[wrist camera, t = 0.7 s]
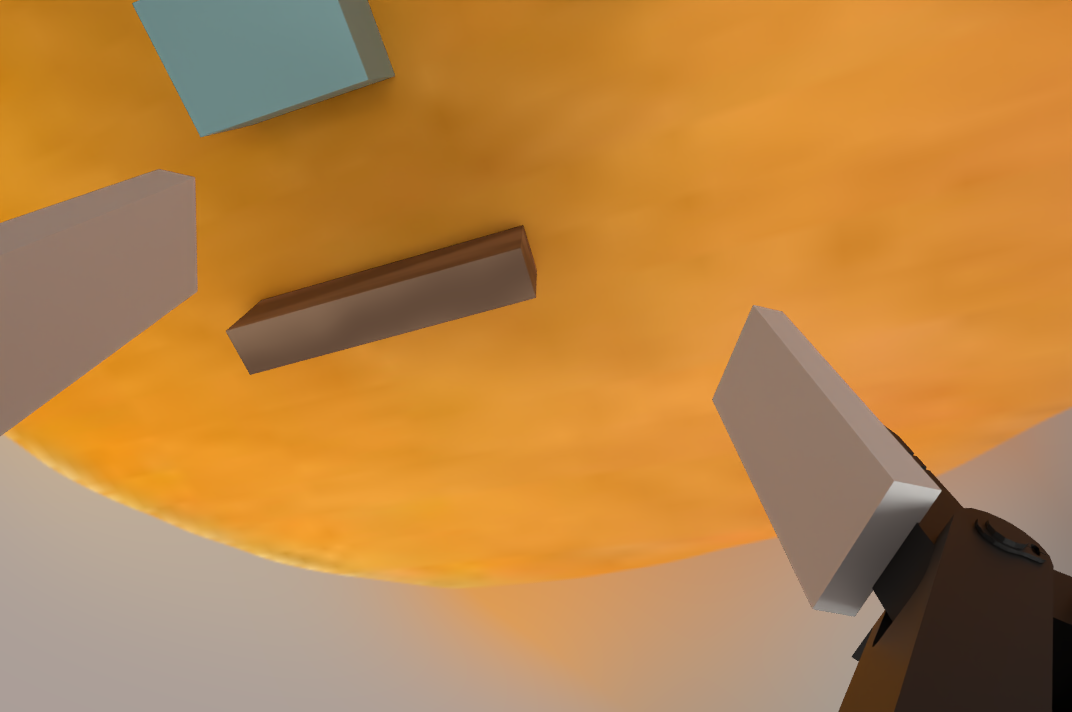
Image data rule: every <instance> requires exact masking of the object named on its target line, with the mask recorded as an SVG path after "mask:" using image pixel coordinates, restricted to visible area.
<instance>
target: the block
mask: <svg viewBox="0 0 1072 712" xmlns="http://www.w3.org/2000/svg"><path fill="white" fill-rule="evenodd" d="M132 4H133V6H134V8H135V10H136V12H137V14H138V16H139V18H140V20H141V22H142V24H143V26H144V28H145V30H146V32H147V33H148V35H149V37H150V39H151V41H152V43H153V45H154V47H155V49H156V51H157V53H158V55H159V57H160V59H161V61H162V63H163V65H164V67H165V69H166V70H167V72H168V74H169V76H170V78H171V80H172V82H173V84H174V86H175V88H176V90H177V92H178V94H179V96H180V98H181V100H182V102H183V104H184V106H185V108H186V109H187V111H188V113H189V115H190V117H191V119H192V121H193V123H194V125H195V127H196V129H197V131H198V133H199V135H200V137H204V136H208V135H212V134H216V133H221V132H225V131H229V130H233V129H237V128H242V127H246V126H250V125H253V124H256V123H259V122H262V121H265V120H268V119H271V118H274V117H277V116H280V115H283V114H286V113H289V112H291V111H294V110H297V109H300V108H303V107H306V106H309V105H312V104H315V103H318V102H321V101H324V100H327V99H329V98H332V97H335V96H338V95H341V94H344V93H347V92H350V91H353V90H356V89H359V88H362V87H365V86H367V85H370V84H373V83H376V82H379V81H382V80H385V79H388V78H391V77H394V76H395V74H394V71H393V69H392V66H391V63H390V60H389V58H388V55H387V52H386V49H385V47H384V44H383V41H382V38H381V36H380V33H379V30H378V28H377V25H376V22H375V19H374V17H373V14H372V11H371V8H370V6H369V3H368V0H139V1H136V2H134V3H132Z"/></svg>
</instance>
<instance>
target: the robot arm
mask: <svg viewBox="0 0 1072 712" xmlns="http://www.w3.org/2000/svg"><path fill="white" fill-rule="evenodd" d="M196 292H197V244H196V198H195V177H192V176H187V175H183V174H179V173H174V172H170V171H165V170H161V169H158V170H155V171H152V172H149V173H146V174H143V175H140V176H137V177H134V178H131V179H128V180H125V181H123V182H120V183H117V184H114V185H111V186H108V187H105V188H102V189H99V190H96V191H93V192H90V193H87V194H84V195H81V196H78V197H76V198H73V199H70V200H67V201H64V202H61V203H58V204H55V205H52V206H49V207H46V208H43V209H40V210H37V211H34V212H31V213H29V214H26V215H23V216H20V217H17V218H14V219H11V220H8V221H5V222H2V223H0V436H1V435H3V434H4V433H5V432H7V431H8V430H9V429H11V428H12V427H13V426H15V425H16V424H18V423H19V422H20V421H22V420H23V419H24V418H26V417H27V416H28V415H30V414H31V413H33V412H34V411H35V410H37V409H38V408H39V407H41V406H42V405H43V404H45V403H46V402H47V401H49V400H50V399H52V398H53V397H54V396H56V395H57V394H58V393H60V392H61V391H62V390H64V389H65V388H67V387H68V386H69V385H71V384H72V383H73V382H75V381H76V380H77V379H79V378H80V377H81V376H83V375H84V374H86V373H87V372H88V371H90V370H91V369H92V368H94V367H95V366H96V365H98V364H99V363H101V362H102V361H103V360H105V359H106V358H107V357H109V356H110V355H111V354H113V353H114V352H115V351H117V350H118V349H120V348H121V347H122V346H124V345H125V344H126V343H128V342H129V341H130V340H132V339H133V338H135V337H136V336H137V335H139V334H140V333H141V332H143V331H144V330H145V329H147V328H148V327H149V326H151V325H152V324H154V323H155V322H156V321H158V320H159V319H160V318H162V317H163V316H164V315H166V314H167V313H169V312H170V311H171V310H173V309H174V308H175V307H177V306H178V305H179V304H181V303H182V302H183V301H185V300H186V299H188V298H189V297H190V296H192V295H193V294H194V293H196ZM712 400H713V402H714V404H715V407H716V409H717V411H718V413H719V415H720V417H721V419H722V421H723V423H724V425H725V427H726V430H727V432H728V434H729V436H730V438H731V440H732V442H733V444H734V446H735V448H736V450H737V453H738V455H739V457H740V459H741V461H742V463H743V465H744V467H745V469H746V471H747V473H748V476H749V478H750V480H751V482H752V484H753V486H754V488H755V490H756V492H757V494H758V496H759V499H760V501H761V503H762V505H763V507H764V509H765V511H766V513H767V515H768V517H769V519H770V522H771V524H772V526H773V528H774V530H775V532H776V534H777V536H778V538H779V540H780V542H781V544H782V547H783V549H784V551H785V553H786V555H787V557H788V559H789V561H790V563H791V565H792V568H793V570H794V572H795V574H796V576H797V578H798V580H799V582H800V584H801V586H802V588H803V590H804V593H805V595H806V597H807V599H808V601H809V603H810V605H811V607H812V609H815V610H820V611H826V612H832V613H838V614H843V615H848V616H856V614H857V613H858V611H859V610H860V608H861V607H862V605H863V604H864V602H865V601H866V600H867V598H868V597H869V595H870V594H871V593H872V591H873V590H874V592H875V594H876V595H877V597H878V599H879V600H880V602H881V604H882V605H883V607H884V609H885V611H884V612H883V614H882V615H881V616H880V618H879V619H878V621H877V622H876V623H875V625H874V626H873V628H872V629H871V630H870V632H869V633H868V634H867V636H866V637H865V639H864V640H863V642H862V643H861V645H860V646H859V647H858V648H857V650H856V651H855V653H854V654H853V656H852V657H853V658H854V659H856V660H857V661H859V663H858V665H857V668H856V670H855V672H854V675H853V677H852V680H851V682H850V685H849V687H848V690H847V692H846V695H845V697H844V699H843V702H842V704H841V707H840V710H839V712H1072V577H1071V576H1068V575H1065V574H1063V573H1061V572H1058V571H1055V570H1053V564H1052V561H1051V559H1050V556H1049V555H1048V554H1047V553H1046V551H1045V550H1044V549H1043V548H1042V547H1041V546H1040V545H1039V544H1038V543H1037V542H1036V541H1035V540H1033V539H1032V538H1031V537H1030V536H1028V535H1027V534H1026V533H1025V532H1023V531H1022V530H1020V529H1019V528H1017V527H1016V526H1014V525H1013V524H1011V523H1009V522H1007V521H1005V520H1003V519H1001V518H998V517H996V516H994V515H992V514H990V513H988V512H984V511H980V510H977V509H973V508H963V507H962V506H961V505H960V504H959V503H958V501H957V500H956V499H955V498H954V497H953V496H952V495H951V494H950V492H949V491H948V490H947V489H946V488H945V487H944V486H943V485H942V484H941V483H940V481H939V480H938V479H937V478H936V477H935V476H934V475H933V474H932V473H931V471H929V470H926V466H925V465H924V464H923V463H922V461H921V460H920V459H919V458H918V457H917V456H913V454H914V453H913V452H912V450H911V449H910V448H909V447H908V446H907V445H906V444H905V443H904V442H903V440H902V439H901V438H900V437H899V436H898V435H896V434H895V433H894V432H892V431H891V430H890V429H888V428H887V427H886V426H884V425H883V424H882V423H881V422H880V421H879V419H878V418H877V417H876V416H875V415H874V414H873V413H872V412H871V410H870V409H869V408H868V407H867V406H866V405H865V404H864V403H863V401H862V400H861V399H860V398H859V397H858V396H857V395H856V394H855V392H854V391H853V390H852V389H851V388H850V387H849V386H848V385H847V383H846V382H845V381H844V380H843V379H842V378H841V377H840V376H839V374H838V373H837V372H836V371H835V370H834V369H833V368H832V367H831V366H830V364H829V363H828V362H827V361H826V360H825V359H824V358H823V357H822V355H821V354H820V353H819V352H818V351H817V350H816V349H815V348H814V346H813V345H812V344H811V343H810V342H809V341H808V340H807V339H806V337H805V336H804V335H803V334H802V333H801V332H800V331H799V330H798V328H797V327H796V326H795V325H794V324H793V323H792V322H791V321H790V319H789V318H788V317H787V316H786V315H785V314H784V313H783V312H782V311H777V310H773V309H768V308H764V307H760V306H755V305H753V306H752V309H751V311H750V313H749V316H748V318H747V320H746V323H745V325H744V327H743V330H742V332H741V334H740V336H739V339H738V341H737V343H736V346H735V348H734V350H733V353H732V355H731V357H730V360H729V362H728V364H727V367H726V369H725V371H724V374H723V376H722V378H721V380H720V383H719V385H718V387H717V390H716V392H715V394H714V397H713V399H712Z"/></svg>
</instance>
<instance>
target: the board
mask: <svg viewBox="0 0 1072 712" xmlns="http://www.w3.org/2000/svg"><path fill="white" fill-rule="evenodd" d="M536 279H537V269H536V266H535V263H534V259H533V256H532V253H531V249H530V246H529V243H528V239H527V236H526V233H525V229H524V226H523V225H522V226H519V227H515V228H512V229H508V230H505V231H501V232H498V233H494V234H491V235H487V236H484V237H480V238H477V239H474V240H470V241H467V242H463V243H460V244H456V245H453V246H449V247H446V248H442V249H439V250H435V251H432V252H428V253H425V254H421V255H418V256H414V257H411V258H407V259H404V260H400V261H397V262H393V263H390V264H386V265H383V266H379V267H376V268H372V269H369V270H365V271H362V272H358V273H355V274H351V275H348V276H344V277H341V278H338V279H334V280H331V281H327V282H324V283H320V284H317V285H313V286H310V287H306V288H303V289H299V290H296V291H292V292H289V293H285V294H282V295H278V296H275V297H271V298H268V299H264V300H261V301H260V302H259V303H258V304H256V305H255V306H254V307H253V308H252V309H251V310H249V311H248V312H247V313H246V314H245V315H244V316H243V317H241V318H240V319H239V320H238V321H237V322H236V323H234V324H233V325H232V326H231V327H230V328H229V329H228V330H226V333H227V334H228V336H229V338H230V340H231V341H232V343H233V345H234V347H235V349H236V350H237V352H238V354H239V356H240V358H241V359H242V361H243V363H244V365H245V366H246V368H247V370H248V372H249V374H250V375H251V374H255V373H259V372H262V371H266V370H270V369H273V368H277V367H281V366H285V365H288V364H292V363H296V362H299V361H303V360H307V359H311V358H314V357H318V356H322V355H325V354H329V353H333V352H336V351H340V350H344V349H348V348H351V347H355V346H359V345H362V344H366V343H370V342H374V341H377V340H381V339H385V338H388V337H392V336H396V335H399V334H403V333H407V332H411V331H414V330H418V329H422V328H425V327H429V326H433V325H437V324H440V323H444V322H448V321H451V320H455V319H459V318H463V317H466V316H470V315H474V314H477V313H481V312H485V311H488V310H492V309H496V308H500V307H503V306H507V305H511V304H514V303H518V302H522V301H526V300H529V299H533V298H536Z"/></svg>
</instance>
